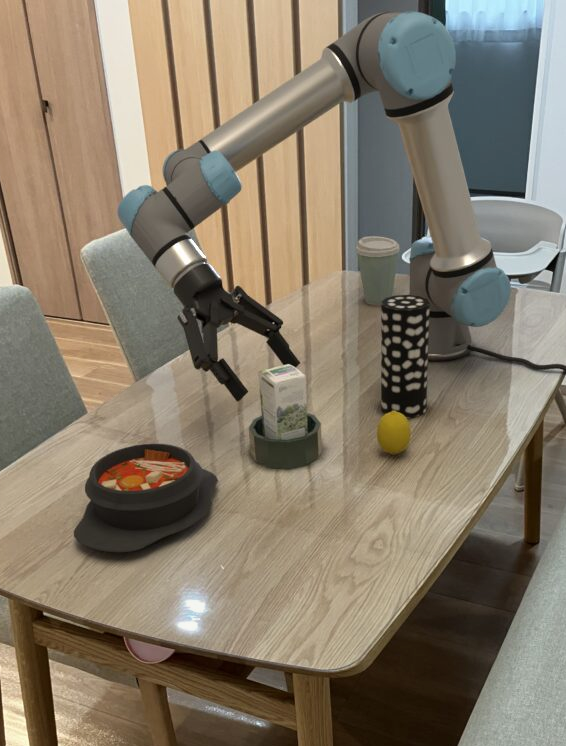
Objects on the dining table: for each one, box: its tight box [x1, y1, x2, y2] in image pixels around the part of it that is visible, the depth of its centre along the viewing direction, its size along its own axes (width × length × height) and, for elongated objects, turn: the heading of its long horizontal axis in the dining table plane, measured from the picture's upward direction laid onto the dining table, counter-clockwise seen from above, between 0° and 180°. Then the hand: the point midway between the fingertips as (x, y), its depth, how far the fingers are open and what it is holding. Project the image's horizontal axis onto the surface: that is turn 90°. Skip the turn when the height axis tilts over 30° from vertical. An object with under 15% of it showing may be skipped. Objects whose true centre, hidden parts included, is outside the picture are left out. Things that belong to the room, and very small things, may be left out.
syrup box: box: [258, 364, 308, 440], centre depth 135 cm, size 6×6×14 cm
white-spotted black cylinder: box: [380, 294, 430, 419], centre depth 147 cm, size 8×8×20 cm
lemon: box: [376, 411, 412, 456], centre depth 135 cm, size 6×6×8 cm
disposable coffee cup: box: [355, 235, 400, 307], centre depth 201 cm, size 11×11×15 cm
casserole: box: [73, 443, 219, 553], centre depth 121 cm, size 25×19×8 cm
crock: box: [248, 412, 323, 470], centre depth 138 cm, size 12×12×5 cm
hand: (269, 382), depth 134 cm, fingers open, 13 cm apart
